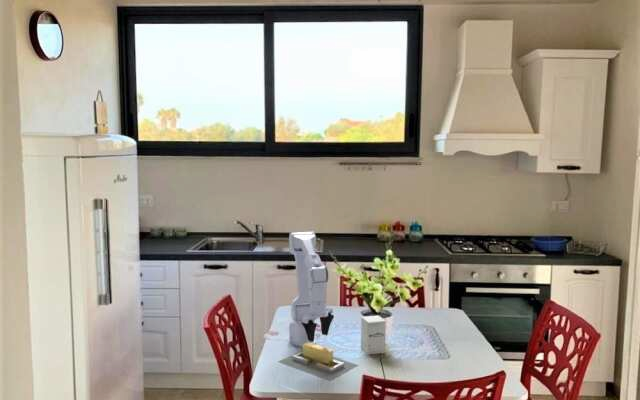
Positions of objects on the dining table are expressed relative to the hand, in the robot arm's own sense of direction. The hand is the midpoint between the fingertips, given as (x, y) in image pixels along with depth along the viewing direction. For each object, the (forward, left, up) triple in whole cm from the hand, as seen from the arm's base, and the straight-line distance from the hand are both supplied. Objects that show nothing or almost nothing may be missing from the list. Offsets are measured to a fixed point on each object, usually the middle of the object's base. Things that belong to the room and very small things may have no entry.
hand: (317, 337), depth 182 cm
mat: (0, 0, -10) cm, 10 cm away
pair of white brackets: (0, 0, -10) cm, 10 cm away
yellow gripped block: (0, 0, -10) cm, 10 cm away
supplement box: (+8, +23, -10) cm, 26 cm away
